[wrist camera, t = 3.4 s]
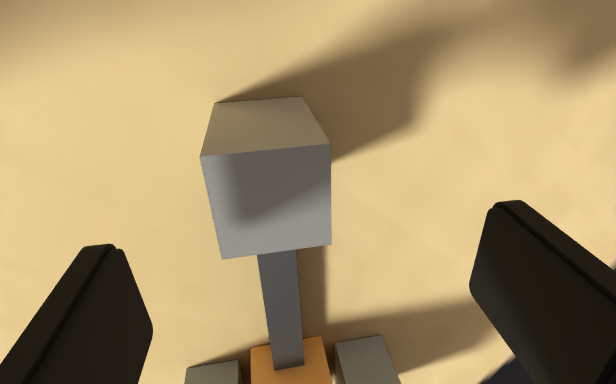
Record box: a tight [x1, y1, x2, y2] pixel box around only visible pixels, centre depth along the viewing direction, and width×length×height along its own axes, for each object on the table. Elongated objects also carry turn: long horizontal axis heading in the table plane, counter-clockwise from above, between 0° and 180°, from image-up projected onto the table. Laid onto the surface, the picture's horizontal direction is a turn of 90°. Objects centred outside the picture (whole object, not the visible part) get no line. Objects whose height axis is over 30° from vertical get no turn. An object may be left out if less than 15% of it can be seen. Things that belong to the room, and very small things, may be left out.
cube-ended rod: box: [200, 96, 332, 384], centre depth 19 cm, size 22×5×6 cm, turn 2°
